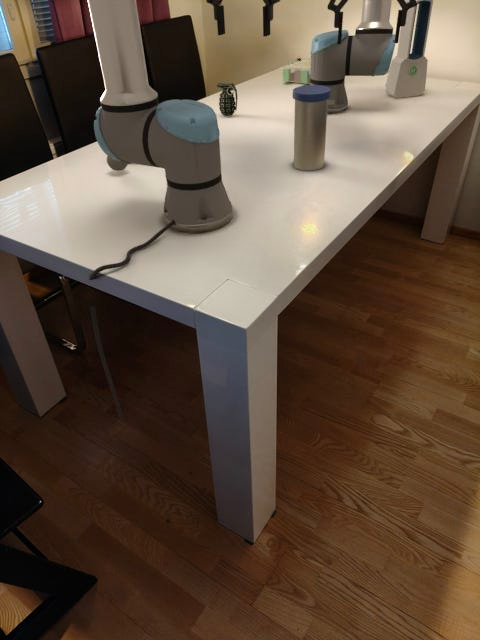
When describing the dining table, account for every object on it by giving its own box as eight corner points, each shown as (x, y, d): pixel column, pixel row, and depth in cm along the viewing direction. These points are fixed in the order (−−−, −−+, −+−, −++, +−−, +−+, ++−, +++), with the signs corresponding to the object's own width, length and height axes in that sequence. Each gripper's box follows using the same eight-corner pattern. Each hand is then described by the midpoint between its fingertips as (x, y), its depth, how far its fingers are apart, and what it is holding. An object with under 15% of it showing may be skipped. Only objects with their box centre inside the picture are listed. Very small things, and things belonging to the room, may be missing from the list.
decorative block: (305, 54, 216) (346, 57, 206) (304, 70, 220) (345, 74, 210) (274, 66, 200) (317, 69, 190) (274, 83, 204) (316, 87, 194)
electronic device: (393, 98, 176) (407, -1, 157) (383, 94, 181) (395, -2, 163) (424, 94, 178) (441, -4, 160) (413, 90, 184) (428, -5, 165)
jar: (330, 165, 128) (335, 91, 117) (307, 173, 125) (310, 97, 114) (309, 157, 134) (312, 86, 122) (287, 164, 130) (288, 91, 119)
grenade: (217, 117, 168) (214, 86, 162) (221, 112, 172) (219, 82, 166) (235, 117, 166) (233, 86, 160) (239, 113, 171) (238, 82, 165)
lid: (338, 96, 118) (338, 89, 117) (310, 104, 114) (310, 96, 113) (312, 90, 124) (313, 83, 123) (285, 97, 120) (285, 90, 119)
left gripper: (294, -71, 114) (292, 33, 127) (203, -65, 124) (210, 31, 137) (281, -70, 109) (280, 38, 122) (187, -64, 119) (196, 36, 132)
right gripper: (319, -64, 106) (314, 46, 119) (440, -72, 101) (421, 44, 114) (322, -65, 112) (317, 40, 125) (437, -72, 107) (419, 38, 120)
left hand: (243, 35), depth 129 cm, fingers open, 13 cm apart
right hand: (367, 42), depth 119 cm, fingers open, 13 cm apart
